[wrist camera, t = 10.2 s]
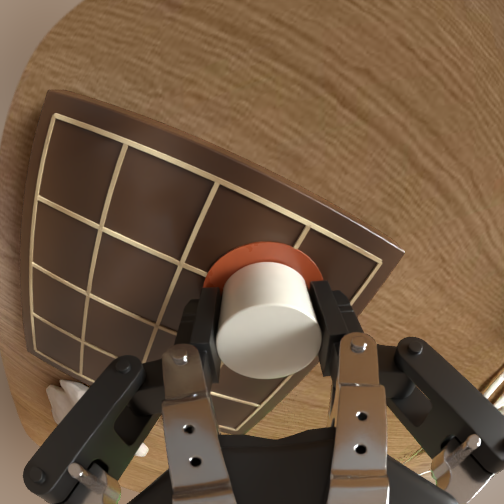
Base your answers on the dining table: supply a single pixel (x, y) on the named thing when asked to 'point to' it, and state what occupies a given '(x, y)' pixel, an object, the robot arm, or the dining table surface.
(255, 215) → the game board
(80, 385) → the decorative stone
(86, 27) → the dining table surface
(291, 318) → the white cylinder
